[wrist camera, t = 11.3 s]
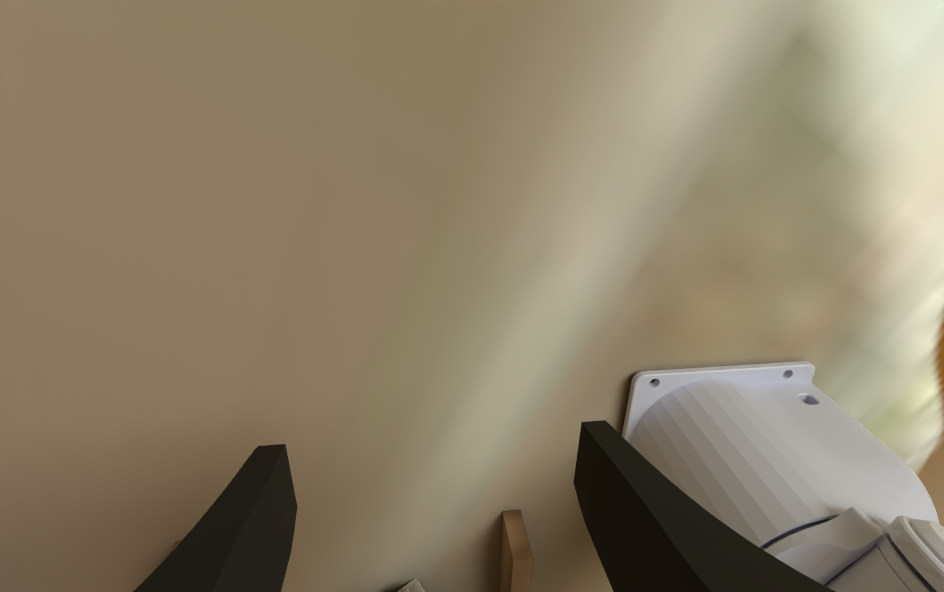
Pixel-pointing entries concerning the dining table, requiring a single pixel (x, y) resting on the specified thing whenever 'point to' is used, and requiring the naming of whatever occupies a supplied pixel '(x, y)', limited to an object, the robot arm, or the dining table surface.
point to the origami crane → (412, 587)
